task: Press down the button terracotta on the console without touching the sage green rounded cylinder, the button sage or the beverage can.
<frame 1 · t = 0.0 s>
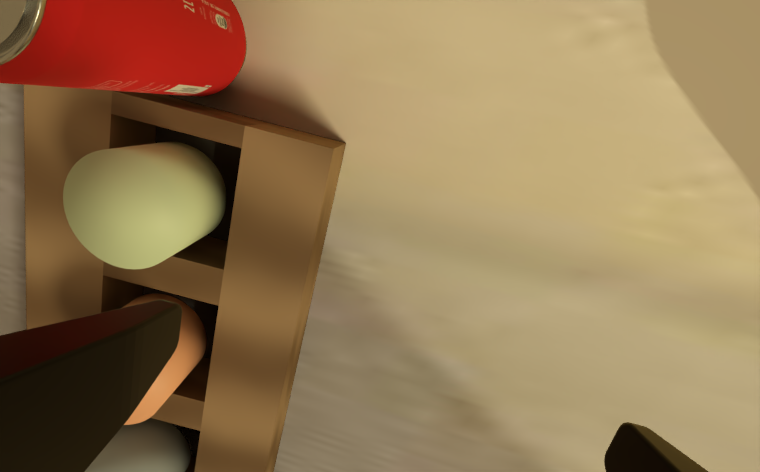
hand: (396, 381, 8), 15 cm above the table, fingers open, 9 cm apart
button sage: (153, 201, 18), point 5 cm above the table, slide at 0.0 cm
console: (190, 310, 25), on the table
beverage can: (205, 42, 21), on the table
button terracotta: (140, 355, 20), point 5 cm above the table, slide at 0.0 cm
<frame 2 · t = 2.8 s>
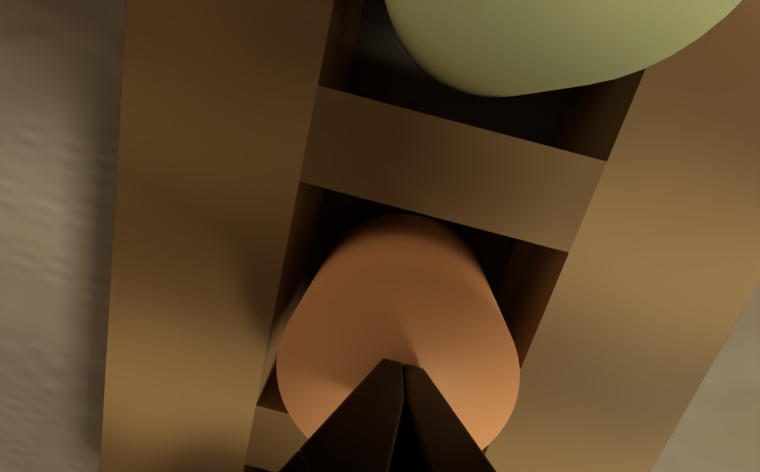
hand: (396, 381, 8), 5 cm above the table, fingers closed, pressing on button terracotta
console: (401, 278, 13), on the table
button terracotta: (398, 329, 10), point 3 cm above the table, slide at 1.6 cm, touching gripper
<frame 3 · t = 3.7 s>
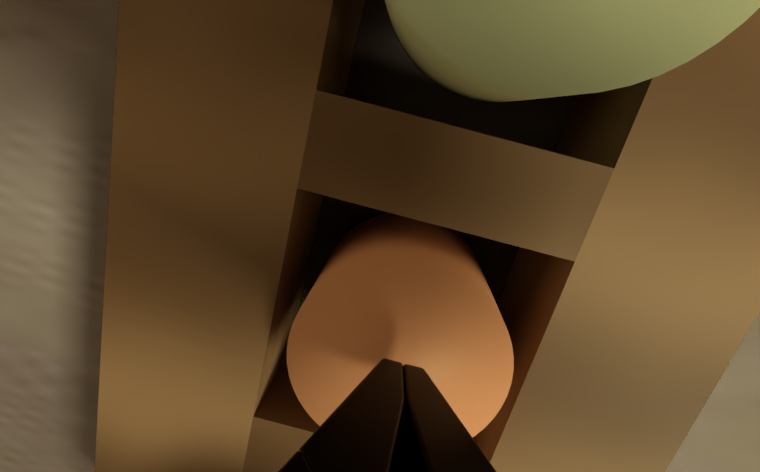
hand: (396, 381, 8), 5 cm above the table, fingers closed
console: (402, 285, 13), on the table
button terracotta: (400, 321, 11), point 2 cm above the table, slide at 2.5 cm
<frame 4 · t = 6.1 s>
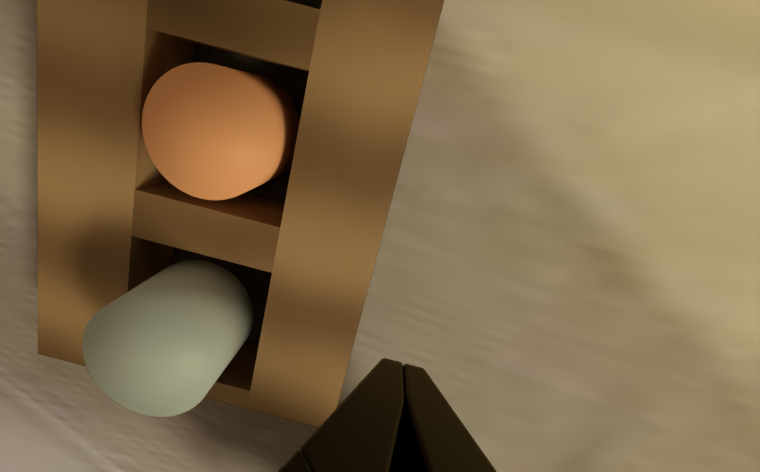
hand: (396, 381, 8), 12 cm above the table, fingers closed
sage green rounded cylinder: (177, 332, 17), point 5 cm above the table, slide at 0.0 cm
console: (251, 129, 19), on the table
button terracotta: (230, 131, 17), point 2 cm above the table, slide at 2.5 cm
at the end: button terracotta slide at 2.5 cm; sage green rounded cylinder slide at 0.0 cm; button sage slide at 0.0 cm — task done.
